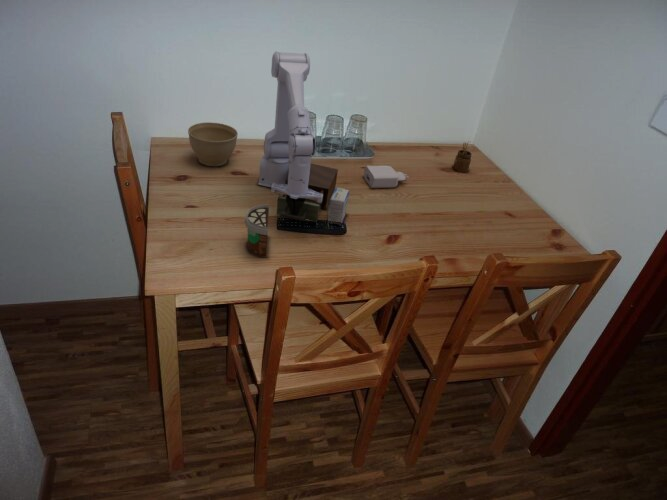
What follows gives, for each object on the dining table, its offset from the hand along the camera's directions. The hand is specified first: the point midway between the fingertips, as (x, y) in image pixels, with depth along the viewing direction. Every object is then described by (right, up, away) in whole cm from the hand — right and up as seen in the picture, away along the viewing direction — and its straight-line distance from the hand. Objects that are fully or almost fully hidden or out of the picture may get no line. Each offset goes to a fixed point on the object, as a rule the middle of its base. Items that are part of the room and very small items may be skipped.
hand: (294, 218), depth 147 cm
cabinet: (+4, +9, +18) cm, 20 cm away
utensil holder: (+60, +22, +50) cm, 82 cm away
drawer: (+1, +2, +7) cm, 7 cm away
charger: (+30, +15, +33) cm, 47 cm away
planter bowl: (-30, +21, +29) cm, 47 cm away
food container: (-10, -8, -9) cm, 16 cm away
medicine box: (+12, 0, +8) cm, 15 cm away
